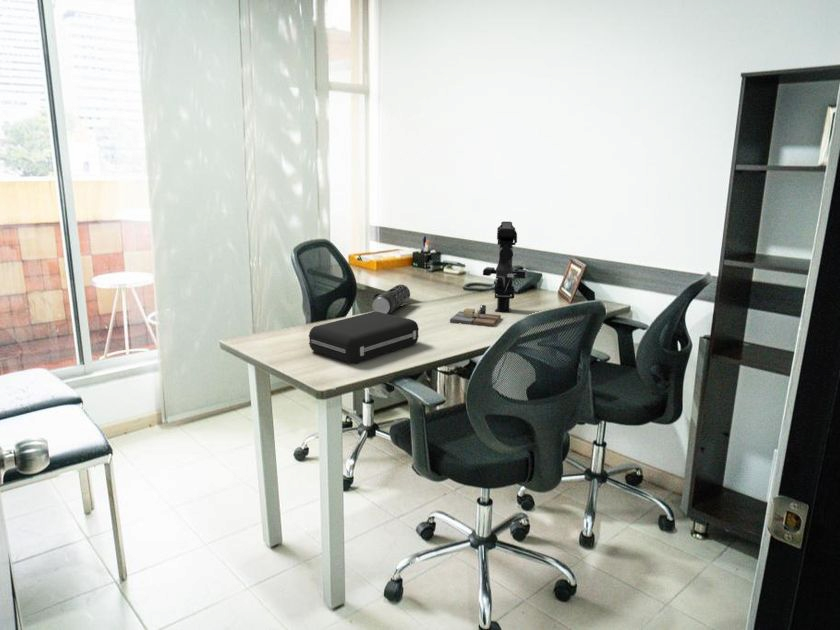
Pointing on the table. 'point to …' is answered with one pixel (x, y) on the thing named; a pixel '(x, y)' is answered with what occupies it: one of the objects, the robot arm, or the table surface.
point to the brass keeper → (470, 313)
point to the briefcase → (363, 336)
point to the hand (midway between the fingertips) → (504, 291)
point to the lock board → (487, 321)
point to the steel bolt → (481, 312)
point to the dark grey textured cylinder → (391, 299)
